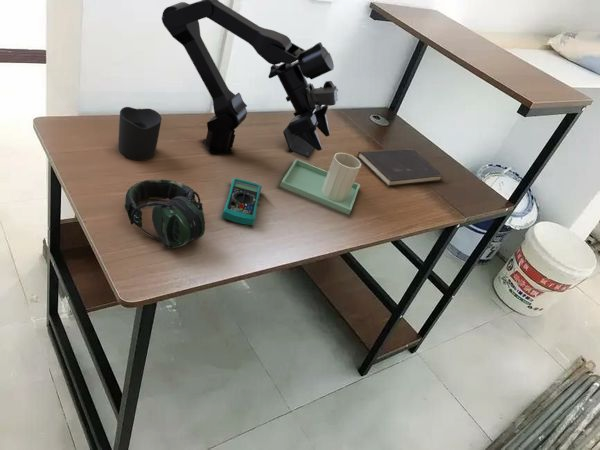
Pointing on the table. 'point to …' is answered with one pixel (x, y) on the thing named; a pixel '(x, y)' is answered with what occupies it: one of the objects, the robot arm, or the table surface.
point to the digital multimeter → (242, 202)
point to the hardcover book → (399, 167)
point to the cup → (340, 176)
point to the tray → (315, 185)
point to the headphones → (167, 210)
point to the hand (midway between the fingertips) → (324, 142)
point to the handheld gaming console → (297, 144)
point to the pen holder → (138, 132)
